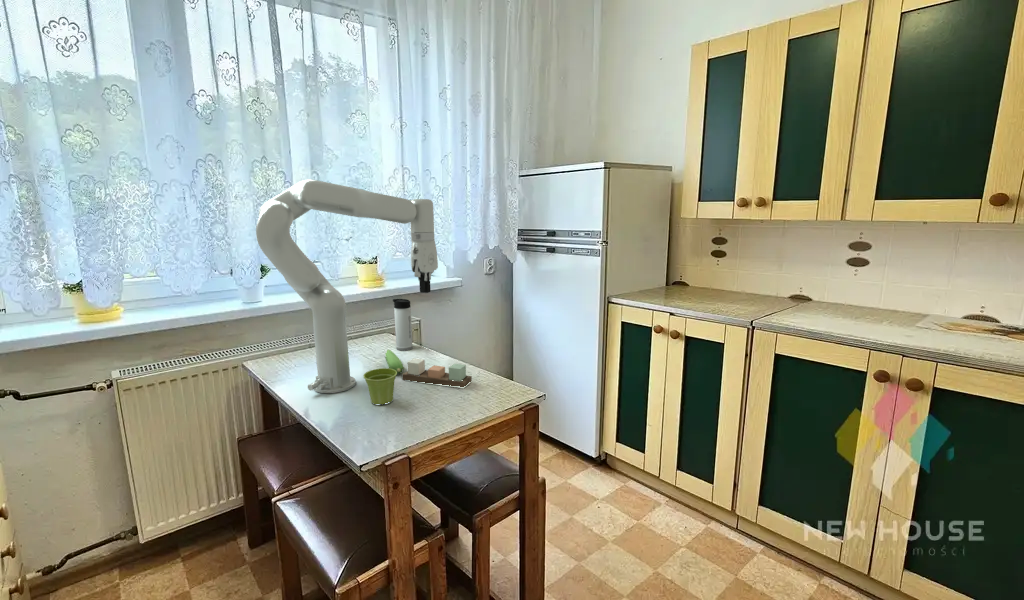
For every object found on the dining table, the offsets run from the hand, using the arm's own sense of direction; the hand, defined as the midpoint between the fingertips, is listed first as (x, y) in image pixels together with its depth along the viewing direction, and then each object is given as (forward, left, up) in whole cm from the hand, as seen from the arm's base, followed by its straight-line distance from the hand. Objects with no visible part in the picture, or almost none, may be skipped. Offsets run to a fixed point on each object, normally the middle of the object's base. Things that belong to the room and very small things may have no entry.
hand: (425, 292), depth 164 cm
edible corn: (-3, +12, -28) cm, 30 cm away
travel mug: (+16, +20, -27) cm, 38 cm away
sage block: (-10, -16, -25) cm, 31 cm away
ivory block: (-10, -1, -25) cm, 27 cm away
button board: (-10, -8, -27) cm, 30 cm away
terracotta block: (-10, -8, -27) cm, 30 cm away
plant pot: (-29, -1, -27) cm, 40 cm away
